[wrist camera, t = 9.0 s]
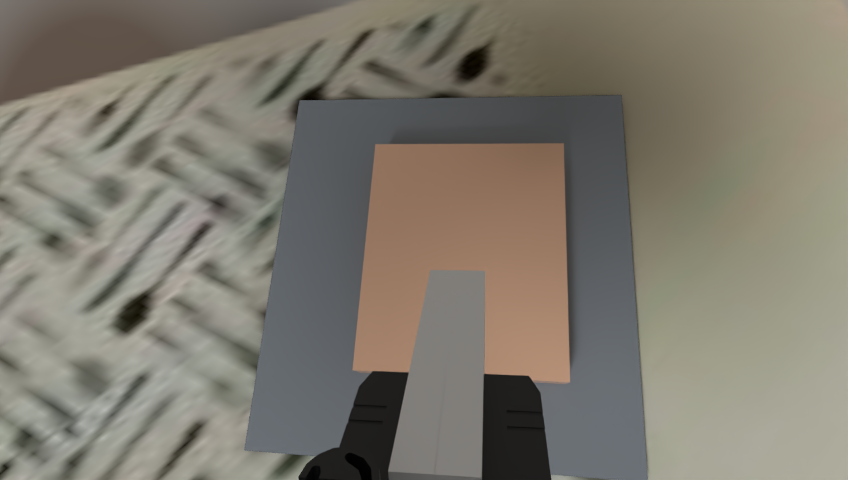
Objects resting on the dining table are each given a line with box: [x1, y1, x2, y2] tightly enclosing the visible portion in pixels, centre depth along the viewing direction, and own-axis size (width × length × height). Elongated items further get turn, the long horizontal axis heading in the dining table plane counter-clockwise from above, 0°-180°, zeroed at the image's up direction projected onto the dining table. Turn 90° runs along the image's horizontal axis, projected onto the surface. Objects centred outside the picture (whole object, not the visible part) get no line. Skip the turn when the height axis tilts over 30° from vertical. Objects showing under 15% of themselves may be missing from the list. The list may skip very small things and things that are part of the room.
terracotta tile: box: [353, 143, 570, 384], centre depth 26 cm, size 10×2×12 cm
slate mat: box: [244, 95, 648, 480], centre depth 27 cm, size 19×20×1 cm
